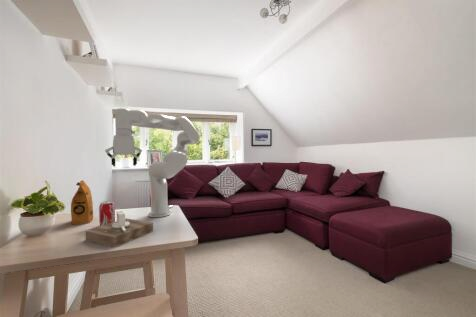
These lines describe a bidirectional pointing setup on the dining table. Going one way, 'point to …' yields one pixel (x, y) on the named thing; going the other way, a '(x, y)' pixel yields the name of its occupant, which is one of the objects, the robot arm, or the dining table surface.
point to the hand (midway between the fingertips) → (124, 165)
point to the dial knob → (121, 221)
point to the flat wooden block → (118, 233)
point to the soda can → (106, 213)
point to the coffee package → (82, 205)
